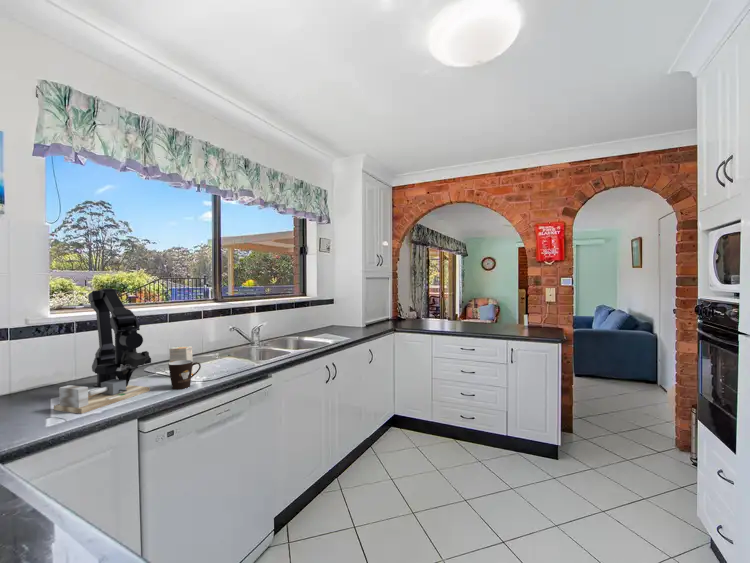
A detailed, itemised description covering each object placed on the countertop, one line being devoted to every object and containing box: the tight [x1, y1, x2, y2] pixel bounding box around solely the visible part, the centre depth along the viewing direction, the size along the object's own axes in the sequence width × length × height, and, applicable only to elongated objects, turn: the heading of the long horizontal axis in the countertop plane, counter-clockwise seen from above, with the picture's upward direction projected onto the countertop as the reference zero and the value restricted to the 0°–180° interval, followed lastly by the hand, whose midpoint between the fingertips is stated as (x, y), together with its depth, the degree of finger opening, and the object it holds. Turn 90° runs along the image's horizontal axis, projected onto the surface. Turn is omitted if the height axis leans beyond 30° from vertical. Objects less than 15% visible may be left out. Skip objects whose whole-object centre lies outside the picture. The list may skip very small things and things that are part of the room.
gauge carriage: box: [88, 378, 127, 396], centre depth 133 cm, size 9×11×4 cm
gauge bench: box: [53, 384, 151, 414], centre depth 134 cm, size 13×25×8 cm, turn 162°
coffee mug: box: [168, 360, 202, 391], centre depth 148 cm, size 12×9×10 cm
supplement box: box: [168, 345, 194, 375], centre depth 165 cm, size 8×5×13 cm, turn 84°
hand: (125, 386), depth 141 cm, fingers closed
